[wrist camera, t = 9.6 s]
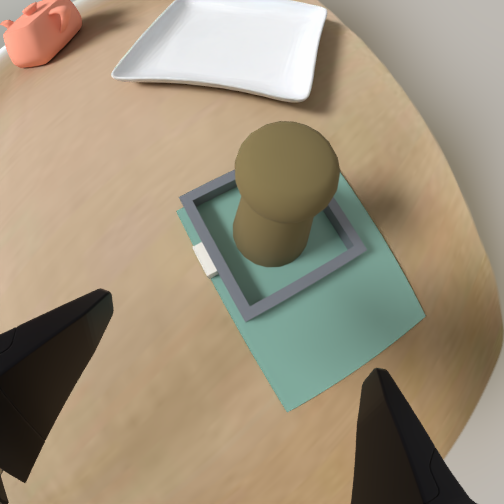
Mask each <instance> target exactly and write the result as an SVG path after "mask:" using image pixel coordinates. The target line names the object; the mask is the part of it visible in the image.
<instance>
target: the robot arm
mask: <svg viewBox="0 0 504 504" xmlns="http://www.w3.org/2000/svg"><path fill="white" fill-rule="evenodd" d="M112 315H113V302H112V294H111V293H110V292H109V291H107V290H104V289H97V290H95V291H93V292H90V293H88V294H86V295H84V296H82V297H79V298H77V299H75V300H73V301H71V302H68V303H66V304H64V305H62V306H60V307H58V308H55V309H53V310H51V311H49V312H47V313H45V314H43V315H40V316H38V317H36V318H34V319H32V320H30V321H28V322H26V323H23V324H21V325H19V326H17V328H16V327H15V328H13V329H11V330H9V331H7V332H4V333H2V334H0V504H8V503H9V502H8V499H7V495H6V492H5V489H4V486H3V482H2V479H1V474H2V472H3V470H4V471H5V472H7V473H8V474H10V475H12V476H13V477H15V478H17V479H19V480H20V481H22V482H24V483H26V481H27V479H28V477H29V474H30V472H31V470H32V468H33V466H34V464H35V461H36V459H37V457H38V455H39V453H40V451H41V449H42V447H43V445H44V443H45V440H46V438H47V436H48V434H49V432H50V430H51V429H52V427H53V425H54V423H55V421H56V419H57V417H58V415H59V413H60V411H61V410H62V408H63V406H64V404H65V402H66V400H67V399H68V397H69V395H70V393H71V392H72V390H73V388H74V386H75V385H76V383H77V381H78V379H79V378H80V376H81V374H82V372H83V371H84V369H85V367H86V366H87V364H88V362H89V361H90V359H91V357H92V356H93V354H94V352H95V350H96V348H97V346H98V344H99V342H100V340H101V338H102V336H103V334H104V332H105V330H106V327H107V325H108V323H109V321H110V319H111V317H112ZM351 504H477V503H475V502H474V501H472V500H471V499H470V498H469V496H468V495H467V494H466V492H465V491H464V490H463V488H462V487H461V485H460V484H459V483H458V481H457V480H456V478H455V477H454V476H453V474H452V473H451V471H450V470H449V468H448V467H447V465H446V464H445V462H444V460H443V459H442V457H441V455H440V454H439V452H438V450H437V449H436V448H435V446H434V444H433V442H432V441H431V439H430V437H429V436H428V434H427V432H426V431H425V429H424V427H423V426H422V424H421V422H420V421H419V419H418V418H417V416H416V414H415V413H414V411H413V410H412V408H411V406H410V405H409V403H408V402H407V400H406V399H405V397H404V395H403V394H402V392H401V391H400V389H399V388H398V386H397V385H396V383H395V381H394V380H393V378H392V377H391V375H390V374H389V372H388V371H387V370H386V369H381V368H375V369H374V370H373V371H372V372H371V373H370V375H369V376H368V377H367V378H366V379H365V381H364V382H363V385H362V390H361V398H360V406H359V413H358V421H357V432H356V452H355V467H354V479H353V489H352V499H351Z"/></svg>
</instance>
